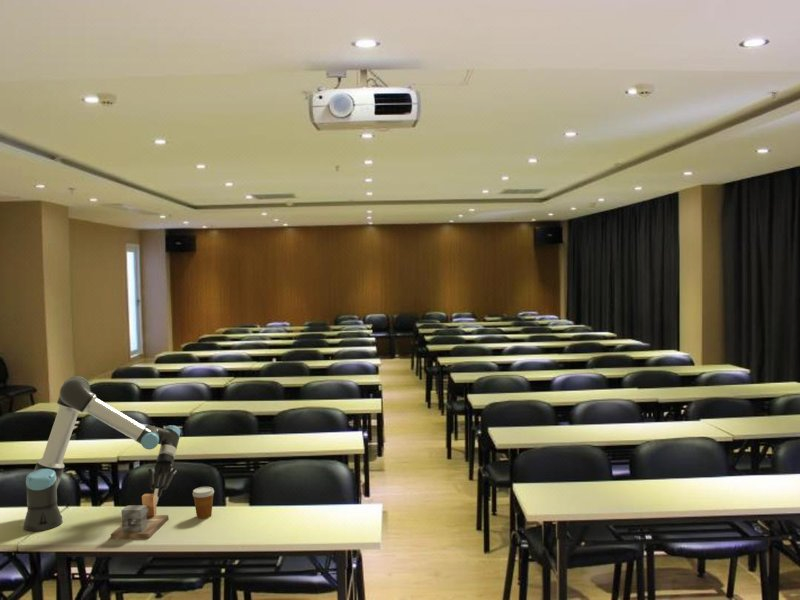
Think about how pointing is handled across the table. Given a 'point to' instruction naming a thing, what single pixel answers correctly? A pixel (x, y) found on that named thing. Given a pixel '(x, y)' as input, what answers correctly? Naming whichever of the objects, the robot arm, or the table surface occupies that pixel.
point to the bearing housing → (138, 523)
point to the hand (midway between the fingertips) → (154, 503)
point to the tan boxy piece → (149, 504)
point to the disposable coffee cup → (203, 501)
